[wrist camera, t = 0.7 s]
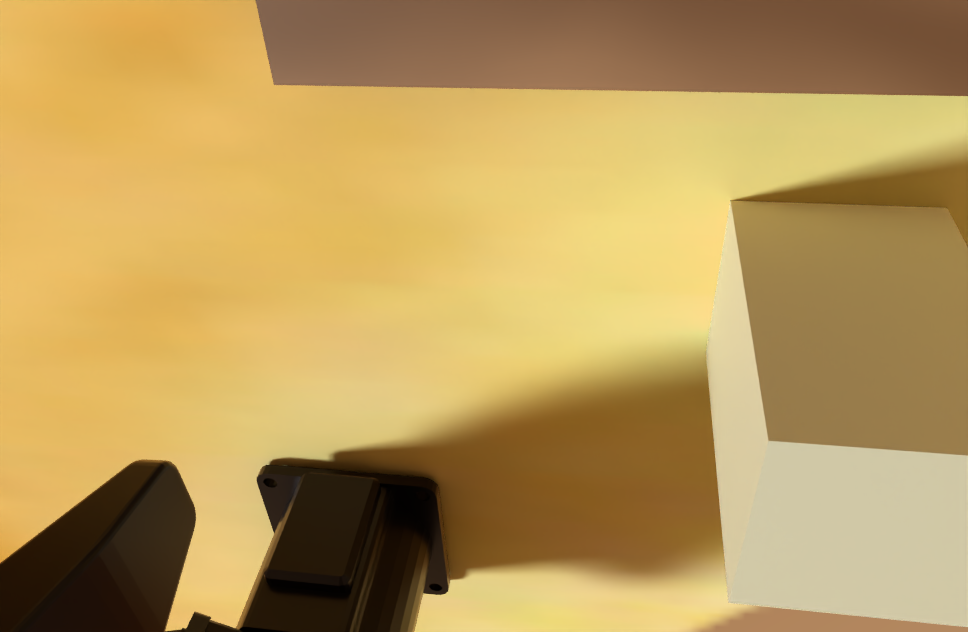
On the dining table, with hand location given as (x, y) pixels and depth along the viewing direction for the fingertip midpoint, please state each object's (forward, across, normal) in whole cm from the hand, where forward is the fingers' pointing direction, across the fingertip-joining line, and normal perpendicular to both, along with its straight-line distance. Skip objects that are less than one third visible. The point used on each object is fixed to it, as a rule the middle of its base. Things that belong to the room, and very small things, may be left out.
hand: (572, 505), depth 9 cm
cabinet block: (+13, -6, +6) cm, 15 cm away
